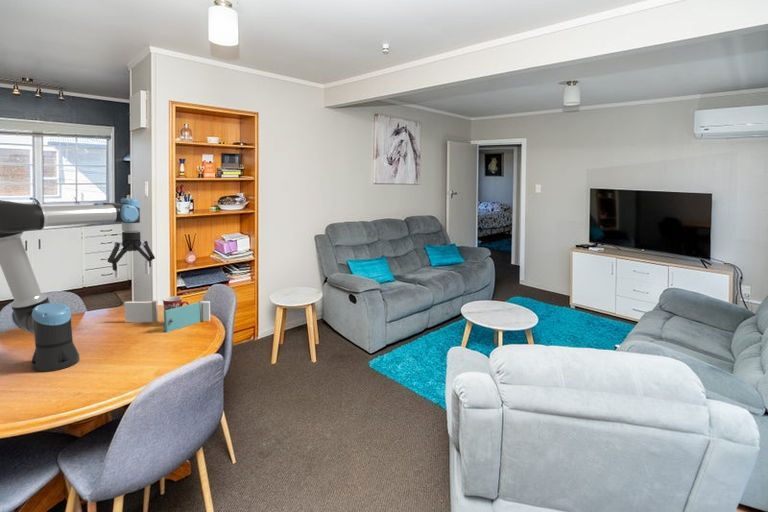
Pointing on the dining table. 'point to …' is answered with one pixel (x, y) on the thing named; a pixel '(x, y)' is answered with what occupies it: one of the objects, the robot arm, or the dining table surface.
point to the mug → (173, 302)
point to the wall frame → (156, 311)
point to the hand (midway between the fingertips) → (132, 275)
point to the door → (181, 316)
